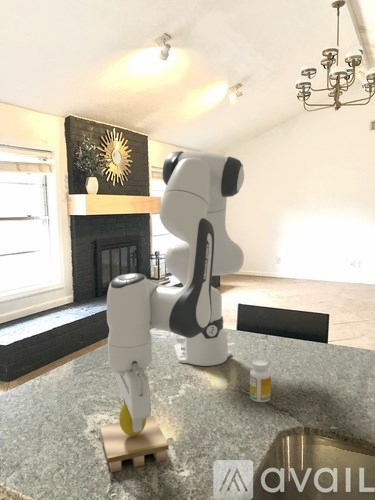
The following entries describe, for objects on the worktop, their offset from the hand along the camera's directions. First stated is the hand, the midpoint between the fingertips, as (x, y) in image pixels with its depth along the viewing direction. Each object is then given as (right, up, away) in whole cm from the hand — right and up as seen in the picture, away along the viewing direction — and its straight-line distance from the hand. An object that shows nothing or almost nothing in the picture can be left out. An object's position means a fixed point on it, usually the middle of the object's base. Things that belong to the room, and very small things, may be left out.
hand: (132, 418), depth 82 cm
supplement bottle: (+31, -4, +22) cm, 38 cm away
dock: (0, -7, +1) cm, 7 cm away
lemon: (0, -4, 0) cm, 4 cm away
